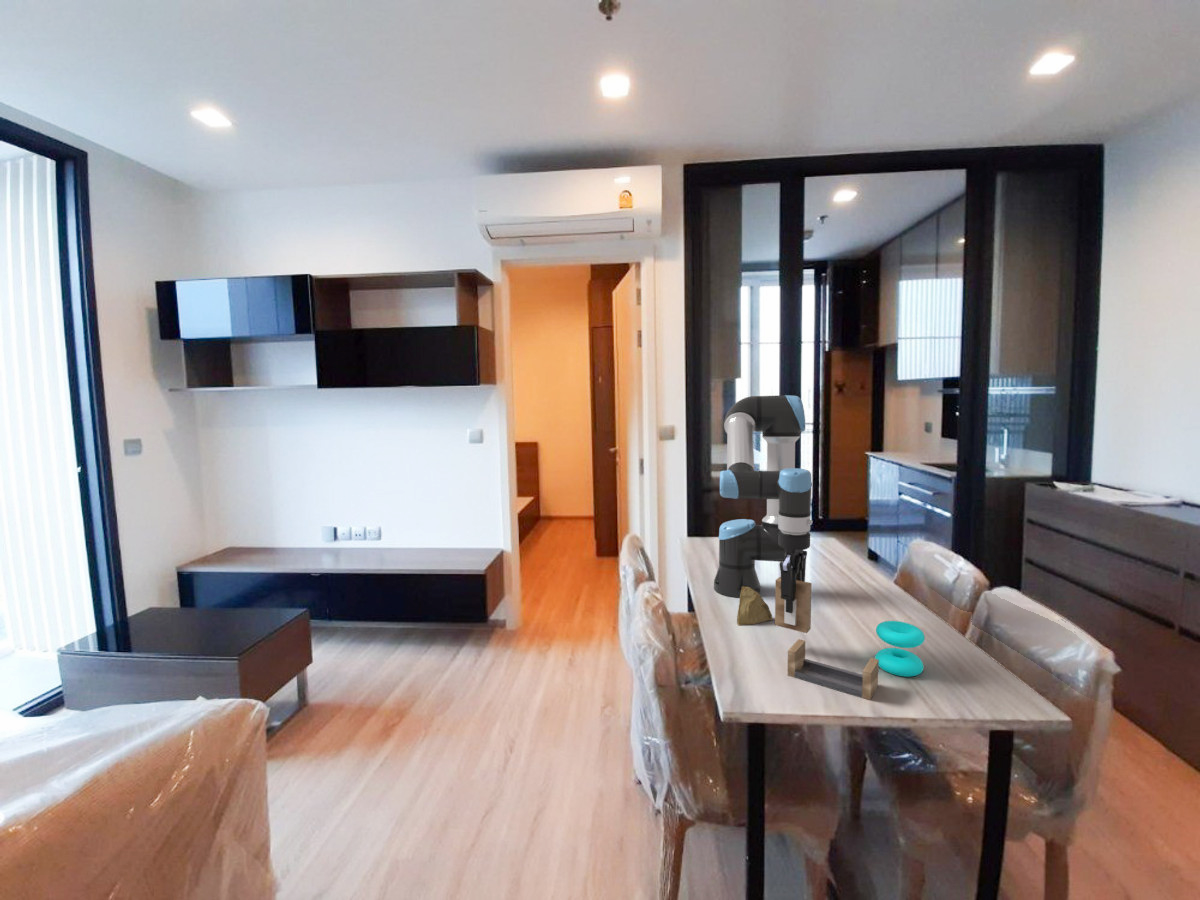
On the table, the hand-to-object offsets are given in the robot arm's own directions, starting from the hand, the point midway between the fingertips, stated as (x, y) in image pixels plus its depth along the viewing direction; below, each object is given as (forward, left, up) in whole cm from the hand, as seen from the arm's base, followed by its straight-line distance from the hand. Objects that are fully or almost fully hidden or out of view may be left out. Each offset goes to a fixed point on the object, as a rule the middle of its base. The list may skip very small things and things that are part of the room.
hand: (792, 620), depth 138 cm
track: (+12, -10, -8) cm, 17 cm away
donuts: (+23, +5, -8) cm, 25 cm away
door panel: (0, 0, -2) cm, 2 cm away
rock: (-15, +11, -8) cm, 20 cm away
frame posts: (+12, -10, -8) cm, 17 cm away
